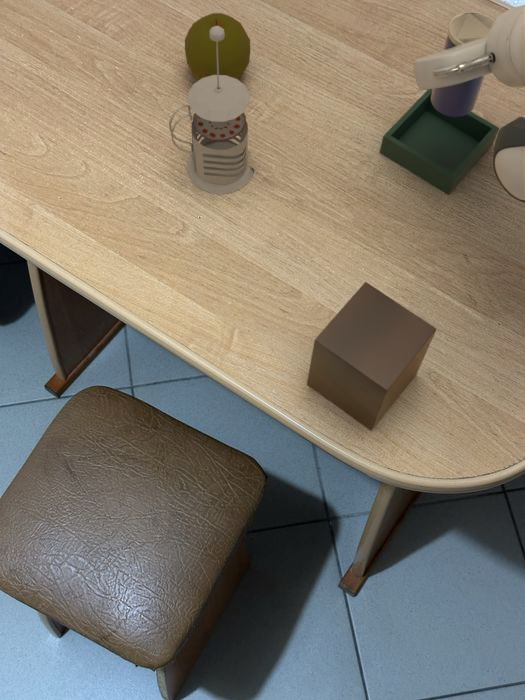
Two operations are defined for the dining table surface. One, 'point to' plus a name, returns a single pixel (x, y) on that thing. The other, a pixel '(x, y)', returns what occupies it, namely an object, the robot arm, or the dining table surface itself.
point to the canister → (465, 94)
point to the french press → (217, 131)
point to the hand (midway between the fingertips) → (462, 56)
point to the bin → (438, 143)
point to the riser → (368, 355)
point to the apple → (229, 49)
